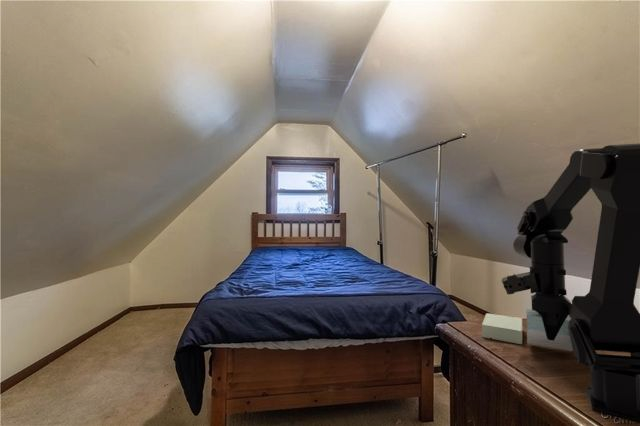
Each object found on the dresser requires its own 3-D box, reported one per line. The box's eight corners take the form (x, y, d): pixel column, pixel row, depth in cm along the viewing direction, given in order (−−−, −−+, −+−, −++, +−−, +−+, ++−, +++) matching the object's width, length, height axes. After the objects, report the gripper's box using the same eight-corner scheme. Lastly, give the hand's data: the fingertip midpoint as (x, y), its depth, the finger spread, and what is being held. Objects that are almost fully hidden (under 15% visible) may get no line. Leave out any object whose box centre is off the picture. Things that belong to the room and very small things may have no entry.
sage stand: (522, 344, 68) (521, 331, 68) (482, 337, 73) (481, 324, 73) (522, 330, 77) (522, 318, 77) (486, 324, 81) (486, 313, 81)
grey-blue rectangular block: (575, 351, 60) (574, 321, 60) (527, 343, 65) (526, 315, 65) (572, 342, 64) (571, 314, 65) (527, 335, 69) (526, 309, 69)
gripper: (505, 255, 77) (507, 317, 77) (501, 266, 62) (503, 342, 62) (561, 258, 71) (563, 325, 71) (571, 270, 56) (574, 356, 55)
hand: (549, 335), depth 65 cm, fingers closed on grey-blue rectangular block, 5 cm apart
